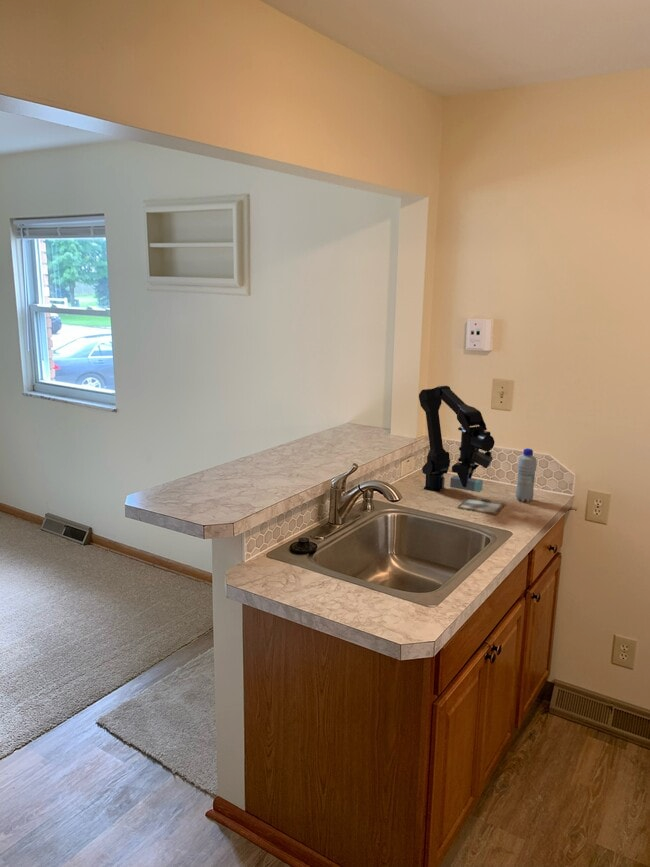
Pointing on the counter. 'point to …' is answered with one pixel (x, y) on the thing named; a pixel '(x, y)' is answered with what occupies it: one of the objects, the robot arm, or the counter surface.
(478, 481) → the teal-capped grey block
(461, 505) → the clipboard
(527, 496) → the bottle
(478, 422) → the robot arm
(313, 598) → the counter surface
